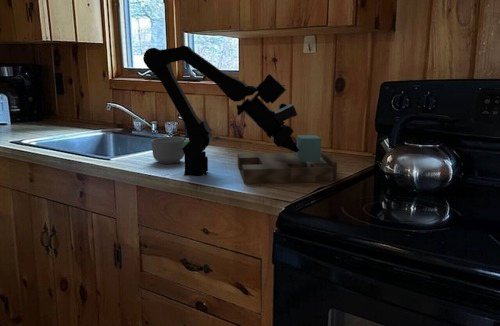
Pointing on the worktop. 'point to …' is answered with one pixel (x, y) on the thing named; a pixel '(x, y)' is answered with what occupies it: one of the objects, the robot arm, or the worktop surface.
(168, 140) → the teacup
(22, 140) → the worktop surface
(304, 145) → the teal block
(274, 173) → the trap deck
